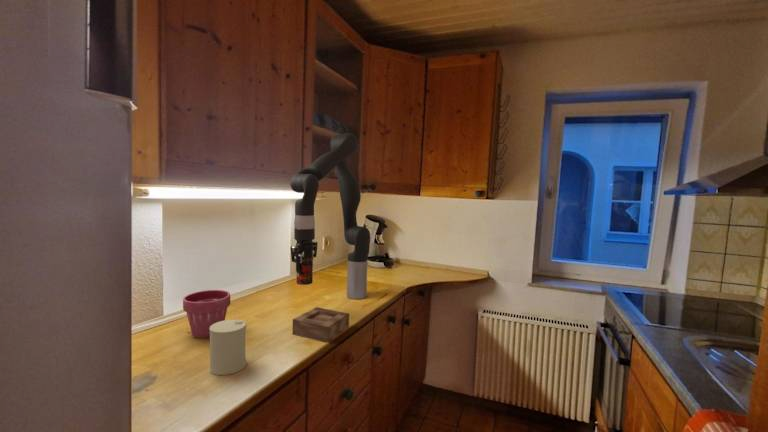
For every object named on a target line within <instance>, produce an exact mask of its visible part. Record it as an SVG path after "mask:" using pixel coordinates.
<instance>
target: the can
mask: <svg viewBox="0 0 768 432" xmlns="http://www.w3.org/2000/svg"><path fill="white" fill-rule="evenodd" d="M209 329H210V337H209V367H208V370H209V372H210V373H211V374H212V375H217V376H225V375H227V376H228V375H230V374H231V375H232V374H235V373H237V372H240V371H242V370H243V369H244V368H245V367H246V365H247V360H246V341H247V340H246V330H247V323H246V321H244V320H241V319H225V320H224V321H220V322H217V323H214V324H212V325H211V326H210V328H209Z"/></svg>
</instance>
